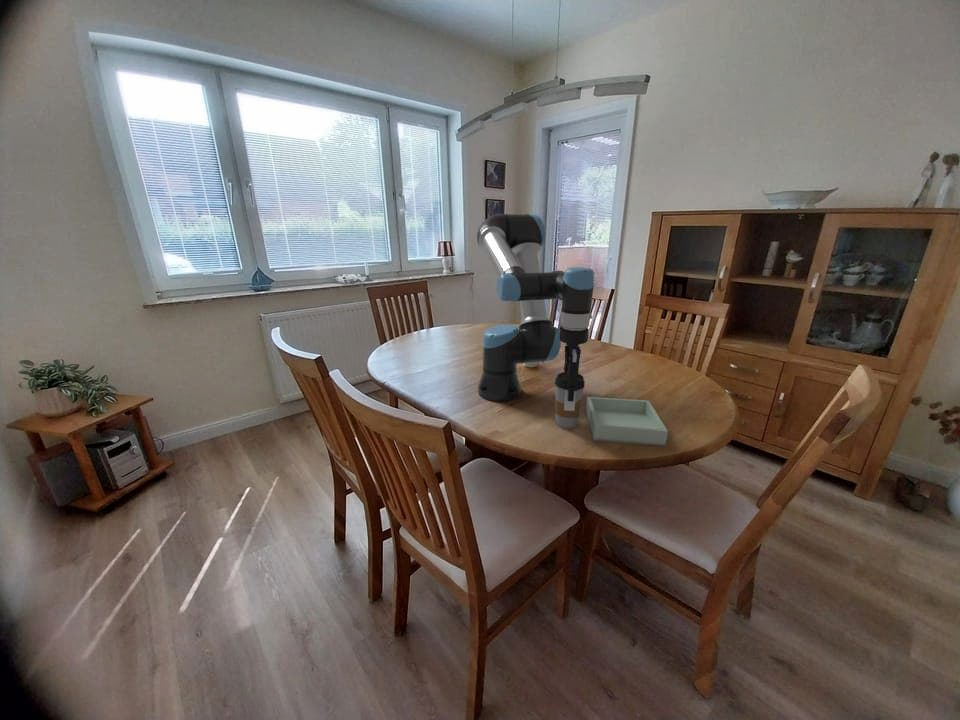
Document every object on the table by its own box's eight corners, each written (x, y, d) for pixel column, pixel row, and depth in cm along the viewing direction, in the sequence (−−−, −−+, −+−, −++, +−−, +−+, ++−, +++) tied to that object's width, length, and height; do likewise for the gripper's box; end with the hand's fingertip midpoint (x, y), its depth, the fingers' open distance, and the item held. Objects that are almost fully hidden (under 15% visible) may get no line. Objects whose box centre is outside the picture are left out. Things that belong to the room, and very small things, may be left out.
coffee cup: (575, 433, 101) (580, 385, 96) (547, 425, 106) (550, 378, 101) (584, 421, 108) (589, 374, 103) (557, 414, 112) (561, 369, 107)
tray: (593, 440, 98) (595, 426, 97) (585, 409, 115) (587, 396, 114) (665, 446, 96) (668, 431, 94) (646, 413, 113) (648, 400, 111)
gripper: (594, 338, 86) (585, 421, 94) (584, 318, 106) (577, 388, 114) (562, 337, 88) (556, 419, 95) (558, 317, 107) (553, 387, 115)
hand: (568, 402), depth 105 cm, fingers closed on coffee cup, 8 cm apart
